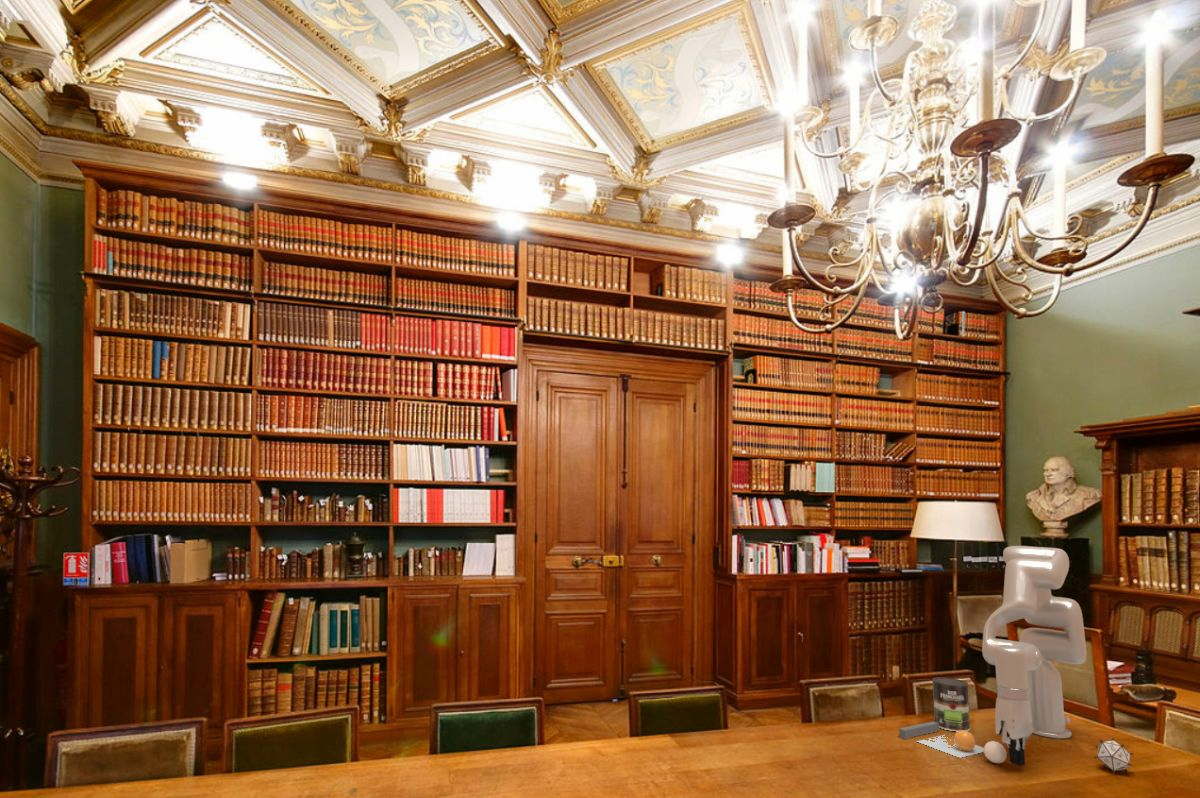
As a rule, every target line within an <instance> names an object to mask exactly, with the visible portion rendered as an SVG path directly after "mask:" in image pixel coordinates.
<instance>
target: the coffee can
mask: <svg viewBox="0 0 1200 798" xmlns="http://www.w3.org/2000/svg"><path fill="white" fill-rule="evenodd" d="M931 680H932V681H931V682H932V688H933V689H932V691H933V714H934V722H936V723H939V729H940V728H941V729H940V730H943V729H944V730H943V731H946V730H949V731H948V732H951V731H956V732H958V731H960V730H965V731H969V730H970V731H971V727H970V726H971V725H970V707H969V683H968V682H967V681H964V680H962V679H958V678H952V677H943V676H940V677H939V676H938V677H933V678H932V679H931ZM970 731H969V732H970ZM956 732H955V733H956Z"/></svg>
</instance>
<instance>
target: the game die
mask: <svg viewBox="0 0 1200 798" xmlns="http://www.w3.org/2000/svg"><path fill="white" fill-rule="evenodd" d="M1099 742H1100V744H1099V745H1097V744H1096V745H1094V746H1095V748H1097V751H1096V752H1097V753H1096V755H1094V756H1093V758H1094V759H1098V760H1099V761H1100V762H1101V763H1102V764H1103V765H1102V767H1103V766H1105V767H1107V768H1108V769H1110V770H1111V771H1112V774H1113V773H1114V774H1113V775H1115V774H1116V772H1118V771H1123V770H1124V772H1126V773H1127V772H1128V770H1127V768H1128V767H1129V766H1131V767H1133V766H1134V765H1133V763H1131V756H1134V753H1133V752H1129V751H1128V750H1127V749H1126V748H1125V747H1124V746H1125V744H1124V743H1122V744H1120V743H1119V742H1117V741H1115V738H1114V737H1111V740H1106V741H1105V740H1104V741H1103V740H1102V738H1099Z"/></svg>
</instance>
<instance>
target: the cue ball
mask: <svg viewBox="0 0 1200 798" xmlns="http://www.w3.org/2000/svg"><path fill="white" fill-rule="evenodd" d="M983 748H984V752H983V753H984V755H985V757H986V759H988V760H989V761H990V762H992V763H994V764H1002V763H1004V762H1005V761H1006V760H1007V756H1008V755H1007V754H1008V753H1007V750H1006V748H1005V747H1004V746H1003V744H1001V742H998V741H993V740H990V741H988V742H986V743H985V745H984V747H983Z"/></svg>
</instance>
